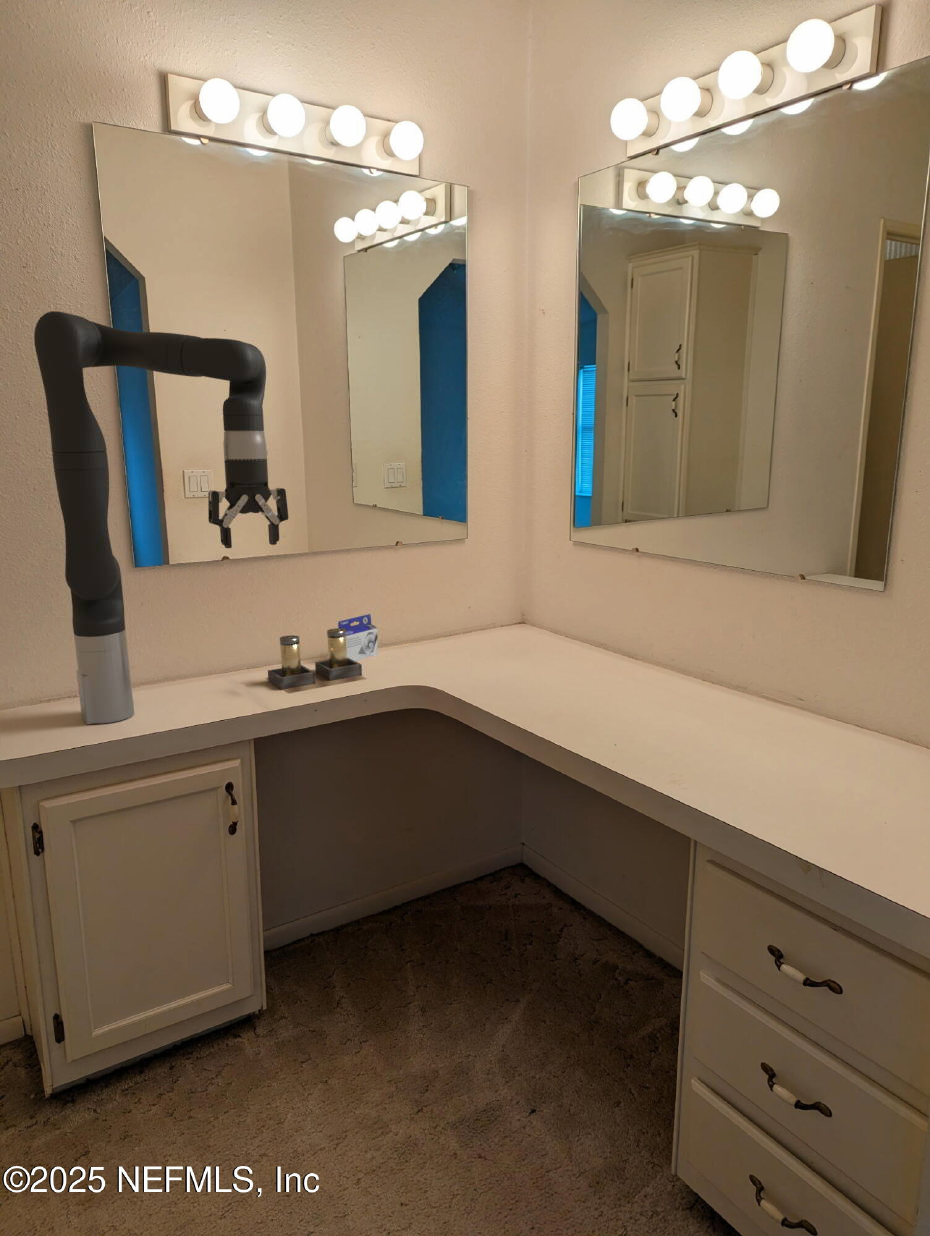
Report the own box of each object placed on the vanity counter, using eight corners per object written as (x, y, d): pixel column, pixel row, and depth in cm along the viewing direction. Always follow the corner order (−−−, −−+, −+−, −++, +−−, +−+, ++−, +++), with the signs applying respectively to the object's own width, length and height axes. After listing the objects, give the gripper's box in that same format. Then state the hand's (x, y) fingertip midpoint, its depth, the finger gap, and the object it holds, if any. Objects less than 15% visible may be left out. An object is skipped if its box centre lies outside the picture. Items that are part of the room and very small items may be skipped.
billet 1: (286, 686, 180) (283, 640, 178) (279, 682, 183) (276, 637, 181) (304, 683, 182) (302, 638, 180) (297, 678, 185) (294, 634, 183)
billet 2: (334, 677, 186) (331, 633, 184) (326, 673, 189) (324, 630, 187) (351, 674, 188) (348, 630, 186) (343, 670, 191) (341, 627, 189)
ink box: (346, 671, 196) (343, 622, 194) (338, 670, 198) (336, 621, 195) (379, 660, 205) (377, 614, 203) (372, 659, 207) (370, 612, 204)
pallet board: (287, 700, 175) (286, 681, 174) (263, 684, 187) (262, 667, 186) (368, 685, 185) (367, 667, 184) (341, 670, 197) (340, 654, 196)
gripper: (275, 456, 160) (280, 541, 163) (200, 457, 152) (206, 547, 156) (290, 456, 154) (295, 545, 157) (212, 457, 146) (218, 551, 149)
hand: (250, 546), depth 156 cm, fingers open, 8 cm apart
